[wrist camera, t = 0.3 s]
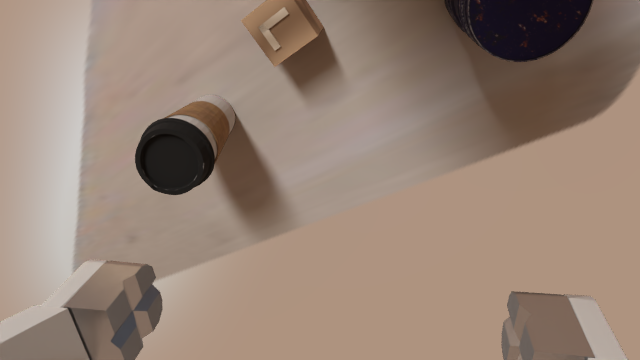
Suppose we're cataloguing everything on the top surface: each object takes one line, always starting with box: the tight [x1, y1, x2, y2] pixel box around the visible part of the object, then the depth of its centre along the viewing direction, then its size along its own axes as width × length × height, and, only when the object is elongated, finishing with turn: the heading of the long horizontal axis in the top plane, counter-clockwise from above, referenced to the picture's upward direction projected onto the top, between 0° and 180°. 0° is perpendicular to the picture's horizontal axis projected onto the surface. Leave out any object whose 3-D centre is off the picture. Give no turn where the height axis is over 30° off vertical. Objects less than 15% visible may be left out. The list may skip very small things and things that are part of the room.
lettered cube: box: [241, 0, 323, 67], centre depth 50 cm, size 6×6×6 cm
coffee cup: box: [135, 95, 235, 195], centre depth 53 cm, size 8×8×15 cm
